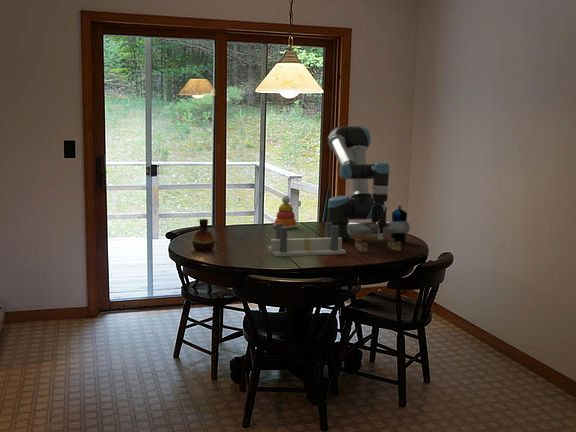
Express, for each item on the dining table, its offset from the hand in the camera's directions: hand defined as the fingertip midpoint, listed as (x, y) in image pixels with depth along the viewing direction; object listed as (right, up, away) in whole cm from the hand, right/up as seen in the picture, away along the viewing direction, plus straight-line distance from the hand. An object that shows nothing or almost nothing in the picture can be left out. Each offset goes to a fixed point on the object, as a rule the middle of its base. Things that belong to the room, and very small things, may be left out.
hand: (377, 237), depth 318 cm
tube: (0, +2, 0) cm, 2 cm away
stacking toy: (-48, +4, +55) cm, 72 cm away
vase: (-88, -6, -11) cm, 89 cm away
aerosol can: (+14, -3, +19) cm, 24 cm away
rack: (0, -6, 0) cm, 6 cm away
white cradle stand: (-37, -7, -9) cm, 38 cm away
